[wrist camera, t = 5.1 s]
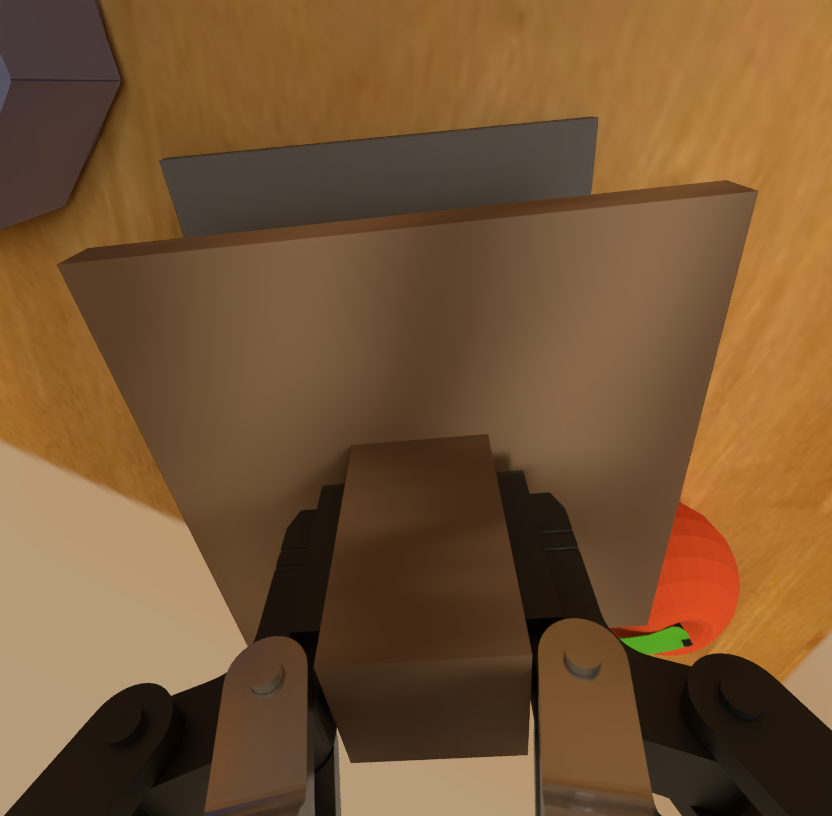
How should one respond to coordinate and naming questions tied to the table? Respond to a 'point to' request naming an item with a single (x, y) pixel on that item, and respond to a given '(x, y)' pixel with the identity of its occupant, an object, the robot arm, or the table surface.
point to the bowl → (49, 100)
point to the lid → (427, 422)
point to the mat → (381, 176)
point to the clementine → (689, 591)
